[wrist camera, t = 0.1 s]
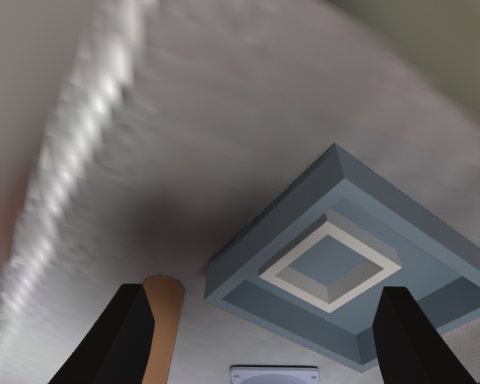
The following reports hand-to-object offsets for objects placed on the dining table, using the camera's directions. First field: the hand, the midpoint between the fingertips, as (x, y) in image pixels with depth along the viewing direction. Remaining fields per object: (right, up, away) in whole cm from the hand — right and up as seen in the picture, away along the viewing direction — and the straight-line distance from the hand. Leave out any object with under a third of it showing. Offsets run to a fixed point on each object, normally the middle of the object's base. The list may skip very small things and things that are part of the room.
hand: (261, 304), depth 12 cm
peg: (-6, -4, +16) cm, 18 cm away
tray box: (+6, -1, +13) cm, 15 cm away
